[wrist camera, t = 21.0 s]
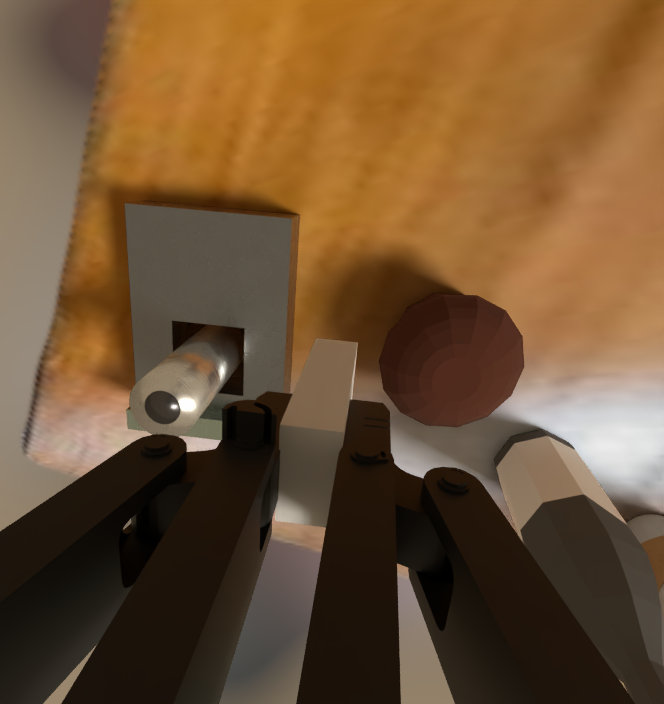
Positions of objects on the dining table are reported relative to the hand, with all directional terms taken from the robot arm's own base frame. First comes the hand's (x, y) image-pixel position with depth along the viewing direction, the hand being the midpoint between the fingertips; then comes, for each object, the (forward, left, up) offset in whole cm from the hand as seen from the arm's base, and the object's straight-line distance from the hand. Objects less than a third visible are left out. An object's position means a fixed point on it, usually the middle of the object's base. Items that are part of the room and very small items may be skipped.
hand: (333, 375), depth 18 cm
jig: (+7, -13, -28) cm, 32 cm away
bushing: (+10, -13, -28) cm, 33 cm away
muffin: (+7, +8, -29) cm, 31 cm away
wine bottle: (+19, +19, -29) cm, 39 cm away
